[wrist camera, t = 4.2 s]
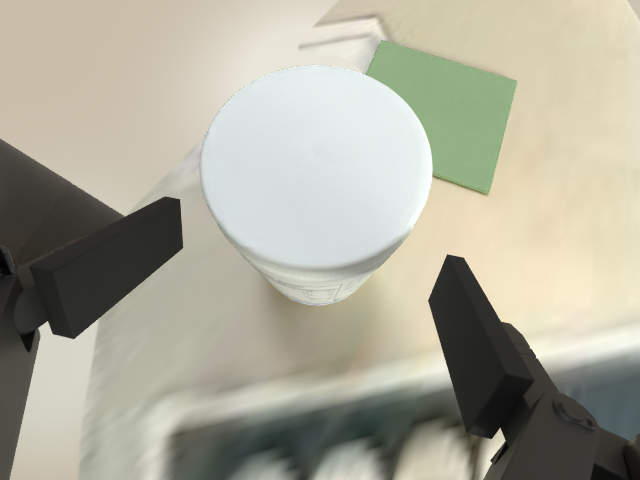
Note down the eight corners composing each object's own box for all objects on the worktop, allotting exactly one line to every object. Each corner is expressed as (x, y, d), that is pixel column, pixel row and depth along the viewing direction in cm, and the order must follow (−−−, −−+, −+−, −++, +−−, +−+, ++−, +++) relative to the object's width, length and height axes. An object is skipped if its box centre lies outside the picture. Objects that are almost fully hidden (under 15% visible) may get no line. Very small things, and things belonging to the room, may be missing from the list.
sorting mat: (335, 141, 29) (335, 139, 29) (380, 43, 33) (381, 39, 33) (487, 194, 27) (489, 192, 27) (515, 83, 31) (517, 80, 31)
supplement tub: (282, 189, 27) (245, 36, 13) (383, 215, 27) (455, 83, 13) (245, 290, 24) (149, 230, 10) (357, 323, 24) (414, 306, 10)
